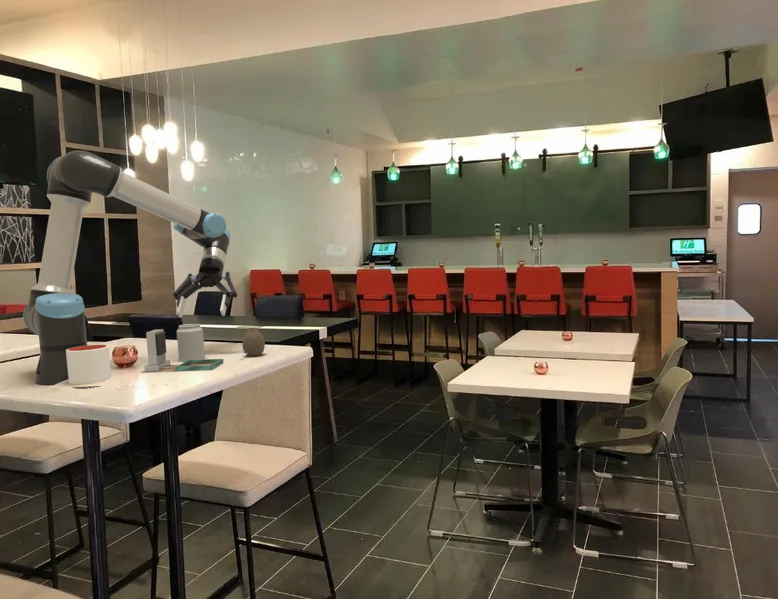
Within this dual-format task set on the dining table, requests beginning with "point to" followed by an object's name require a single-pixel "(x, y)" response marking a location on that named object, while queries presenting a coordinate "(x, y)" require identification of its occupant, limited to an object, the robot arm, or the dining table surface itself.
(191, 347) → the can
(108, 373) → the cup
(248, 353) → the vase
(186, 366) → the teal rectangular pan
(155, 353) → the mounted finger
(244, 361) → the dining table surface
